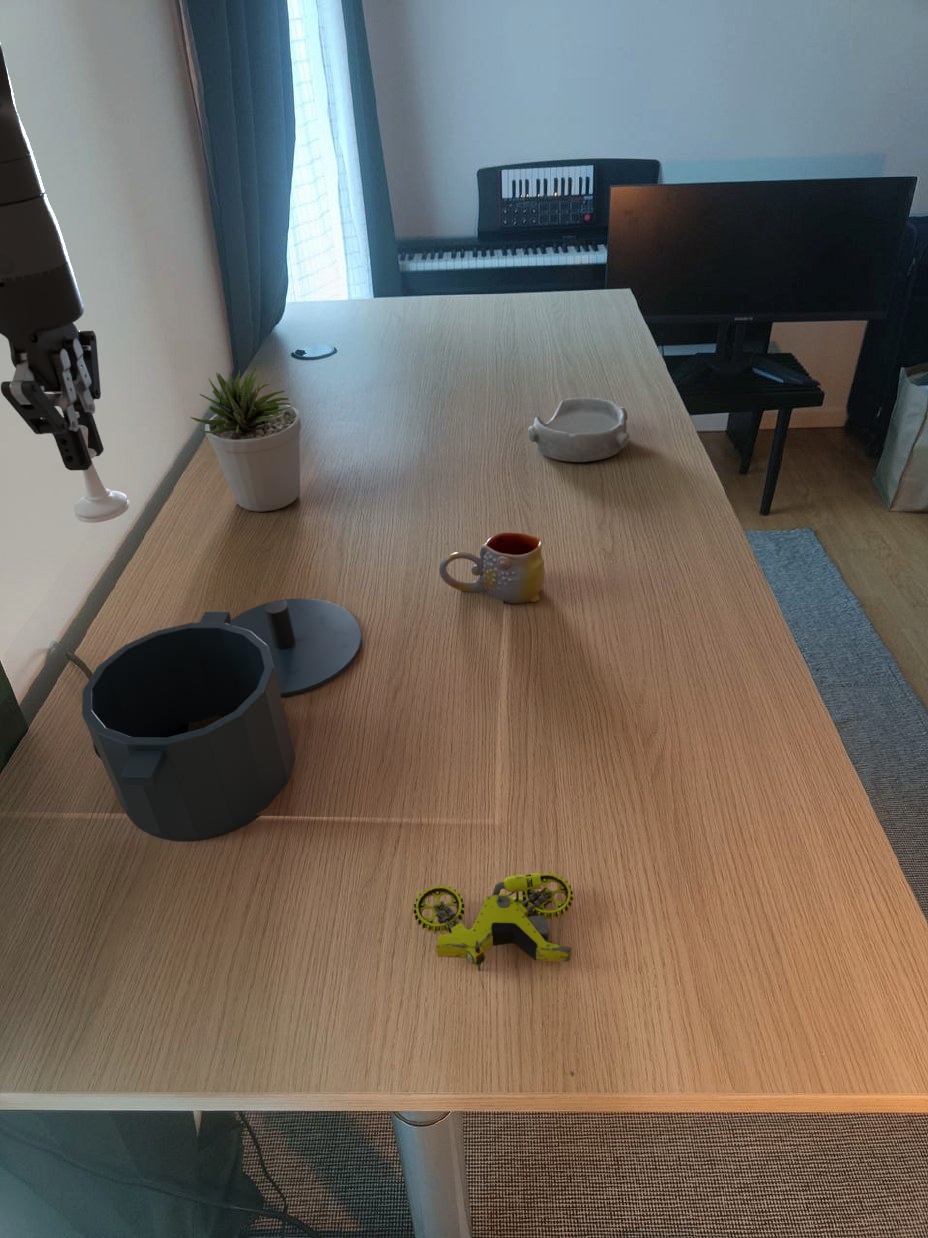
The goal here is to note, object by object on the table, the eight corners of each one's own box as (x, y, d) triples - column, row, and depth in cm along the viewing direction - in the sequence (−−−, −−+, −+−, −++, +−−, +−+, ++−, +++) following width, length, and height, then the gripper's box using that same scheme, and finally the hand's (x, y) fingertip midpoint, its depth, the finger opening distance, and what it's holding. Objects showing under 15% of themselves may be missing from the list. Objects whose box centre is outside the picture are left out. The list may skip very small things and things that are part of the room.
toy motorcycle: (568, 855, 66) (587, 938, 60) (567, 886, 68) (586, 969, 63) (410, 874, 65) (415, 960, 60) (414, 904, 68) (420, 989, 62)
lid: (187, 702, 88) (172, 656, 85) (232, 606, 101) (221, 563, 98) (348, 702, 87) (340, 657, 83) (373, 605, 100) (367, 562, 97)
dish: (523, 461, 127) (522, 429, 124) (547, 422, 138) (547, 392, 135) (621, 471, 123) (623, 439, 120) (638, 430, 134) (640, 399, 131)
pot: (81, 865, 72) (32, 769, 65) (166, 696, 89) (135, 605, 82) (264, 869, 71) (234, 771, 64) (315, 697, 88) (296, 604, 81)
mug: (542, 572, 104) (542, 524, 100) (546, 606, 98) (547, 556, 94) (442, 577, 104) (438, 529, 100) (440, 610, 99) (436, 561, 95)
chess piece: (64, 521, 80) (26, 419, 74) (94, 495, 84) (60, 396, 78) (111, 524, 79) (77, 422, 73) (139, 498, 83) (108, 398, 77)
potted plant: (205, 493, 124) (170, 356, 113) (297, 469, 129) (272, 335, 117) (228, 532, 115) (192, 387, 103) (326, 504, 120) (302, 362, 108)
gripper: (12, 241, 74) (77, 430, 84) (-77, 288, 63) (10, 499, 73) (97, 237, 74) (152, 428, 84) (22, 284, 63) (96, 498, 73)
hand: (85, 460), depth 79 cm, fingers closed on chess piece
